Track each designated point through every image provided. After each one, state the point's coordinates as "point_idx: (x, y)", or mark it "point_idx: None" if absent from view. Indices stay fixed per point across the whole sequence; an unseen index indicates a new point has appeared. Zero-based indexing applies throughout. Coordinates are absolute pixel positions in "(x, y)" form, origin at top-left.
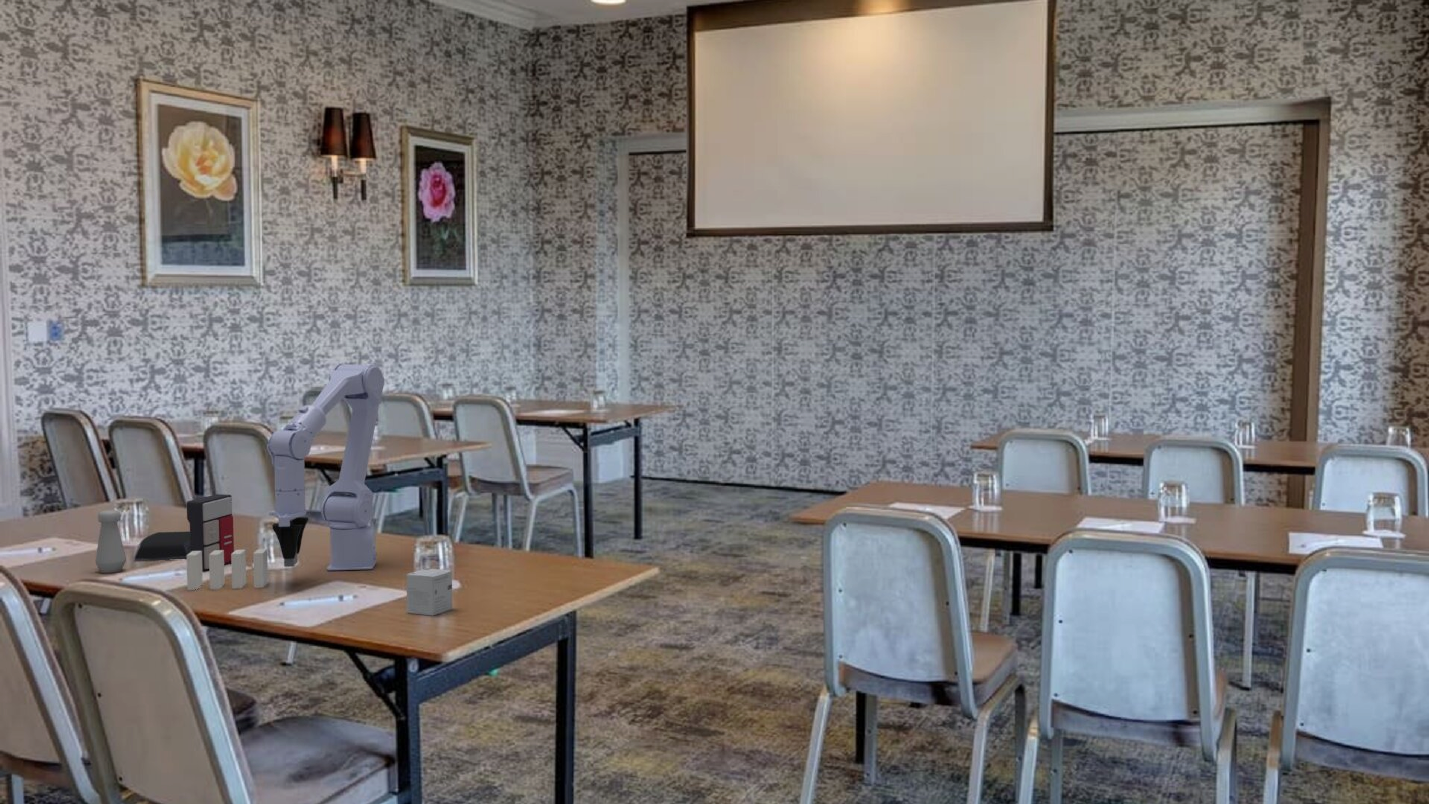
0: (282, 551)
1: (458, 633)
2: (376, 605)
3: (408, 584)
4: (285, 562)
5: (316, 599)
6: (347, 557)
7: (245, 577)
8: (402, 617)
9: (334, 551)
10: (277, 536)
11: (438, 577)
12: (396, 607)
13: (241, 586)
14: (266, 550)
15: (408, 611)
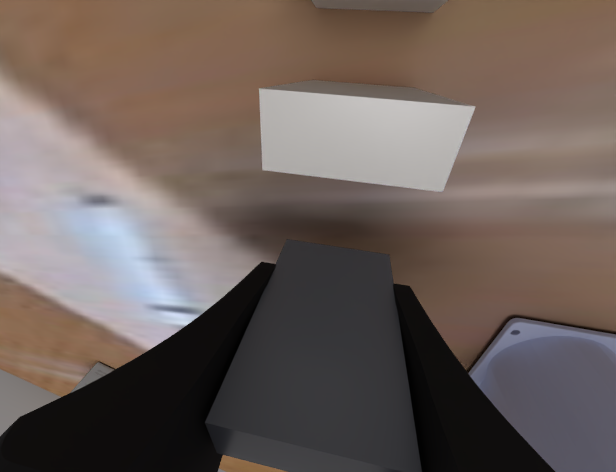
0: (237, 286)
1: (34, 375)
2: (130, 342)
3: None
4: (281, 255)
5: (155, 270)
6: (505, 393)
7: (422, 3)
8: (75, 353)
9: (558, 396)
10: (134, 360)
11: None
12: (125, 358)
13: (315, 5)
14: (409, 185)
15: (95, 364)
